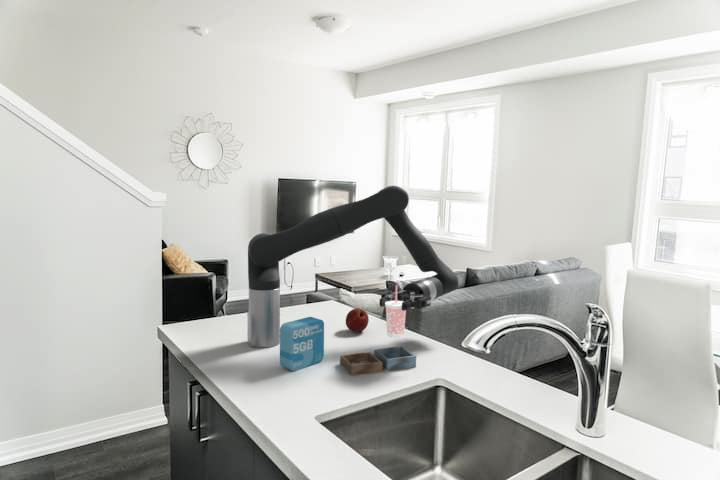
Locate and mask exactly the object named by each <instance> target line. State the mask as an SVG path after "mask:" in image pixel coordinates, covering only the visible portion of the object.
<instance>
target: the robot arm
mask: <svg viewBox="0 0 720 480" xmlns="http://www.w3.org/2000/svg"><path fill="white" fill-rule="evenodd" d="M409 197H410V196H409V194H408V192H407V191H406V190H405V189H404V188H402V187H401V186H399V185H388V186H386V187H384V188H382V189H380V190H379V191H377V192H376V193H374V194H372V195H370V196H368V197H365V198H363V199H360V200H357V201H352V202H348V203H344V204H340V205H337V206H334V207H330V208H328V209H325V210H323V211H320V212H317V213H315V214H313V215H311V216H310V217H308V218H306V219H304V220H303V221H301V222H299V223H298V224H296V225H294V226H293V227H291V228H288V229H286V230H282V231H279V232H275V233H272V234H269V233H258V234H256V235H254V236H253V237H252V238H251V239H250V241H249V242H248V246H247V277H248V310H247V342H249V343H248V345H249V346H250V347H251V346H256V347H255V348H270V347H275V346H277V345H280V327H281V323H280V322H281V313H280V312H281V309H280V307H281V298H280V297H281V295H280V294H281V278H280V267H279V266H280V265H279V262H281V261H282V260H283V261H284V260H285V259H287V258H288V257H290V256H292V255H294V254H296V253H299V252H301V251H304V250H307V249H311V248H315V247H317V246H320V245H323V244H326V243H329V242H331V241H335V240H336V239H339V238H341V237H344V236H346V235H348V234H350V233H353V232H354V231H356V230H358V229H361V227H364V226H365V225H367V224H369V223H372V222H374V221H377V220H380V219H385V220H386V222H387V223H388V224H389V225H390V227H391V228H392V229H393V230H394V232H395V233H396V234H397V236H398V237H399V239H400V240H401V241H402V243H403V244H404V246H405V247H406V249H407V251H408V252H409V254H410V255H411V258H412V259H413V260H414V262H415V264H416V265H417V267H418V269H419V270H420V271H421V272H423V273H428V272H434V273H436V274H433V275H432V276H430V277H428V276H427V277H426V278H422V279H418V280H414V281H413V282H410V283H407V284H405V285H404V287H402V290H399V291H397V301H404V302H402V310H403V311H405V310H406V311H407V310H409V309H414V310H416V309H417V310H422V309H424V308H425V309H426V308H427V307H431V306H432V301H434V300H436V299H438V298H439V297H442V296H444V295H447V294H449V293H451V292H454V291H456V290H457V289H458V287H459V279H458V276H457V275H456V274H455V272H454V271H453V270H452V269H451V268H450V267H449V266H448V265H446V264H445V263H444V262H443V261H442V259H440V257H438V254H437V253H436V251H435V250H434V248H433V246H432V245H431V243H430V242H429V241H428V240H427V238H426V237H425V236H424V234H423V233H422V232H421V231H420V230H419V229H418V228H417V227H416V225H414V223H413V222H412V220H411V219H410V218H409V216H408V215H407V213H406V209H407V206H408V205H409V199H410V198H409ZM395 295H396V291H394V292H393V291H392V289H387V290H386V291H384V292H382V293H381V295H380V298H379V307H381V308H384V307H385V302H387V301H395Z"/></svg>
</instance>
